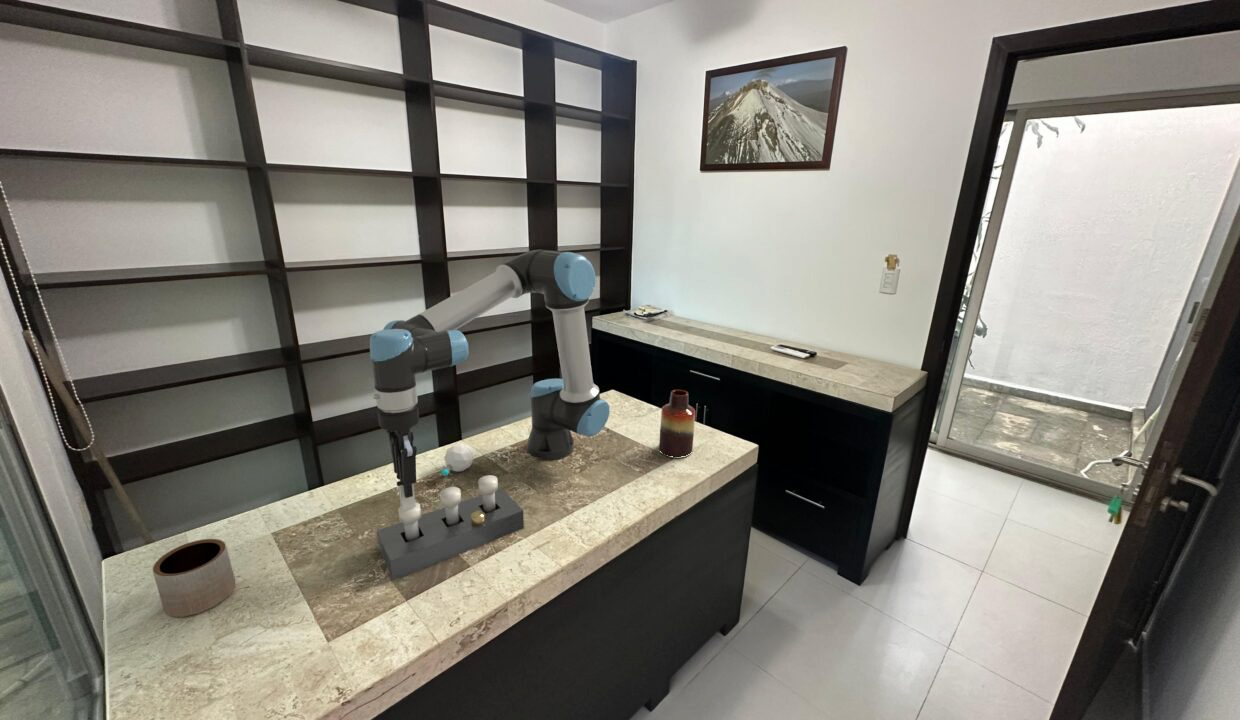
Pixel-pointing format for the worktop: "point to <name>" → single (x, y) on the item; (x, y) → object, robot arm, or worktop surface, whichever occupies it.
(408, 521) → the knob
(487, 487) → the knob
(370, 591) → the worktop surface
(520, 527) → the mount
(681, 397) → the vase
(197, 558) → the planter
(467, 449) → the perfume bottle
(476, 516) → the brass dial
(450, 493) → the knob mid
